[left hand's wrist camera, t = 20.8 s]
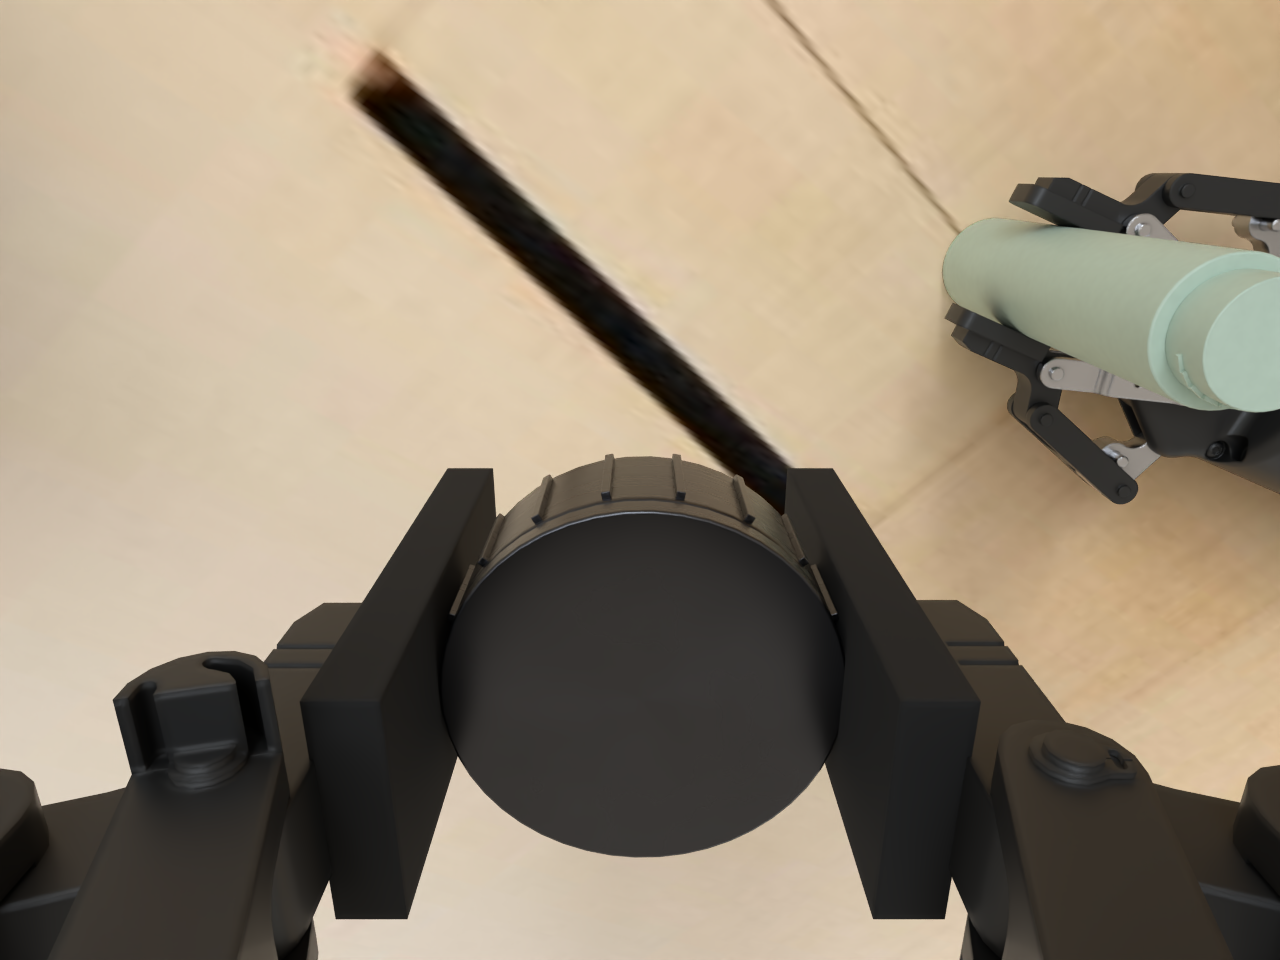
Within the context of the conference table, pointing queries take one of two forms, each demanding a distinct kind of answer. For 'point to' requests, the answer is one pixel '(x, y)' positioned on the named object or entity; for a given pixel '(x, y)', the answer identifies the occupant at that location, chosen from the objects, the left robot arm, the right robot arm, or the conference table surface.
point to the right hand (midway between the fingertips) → (988, 256)
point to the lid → (642, 660)
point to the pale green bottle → (1132, 306)
